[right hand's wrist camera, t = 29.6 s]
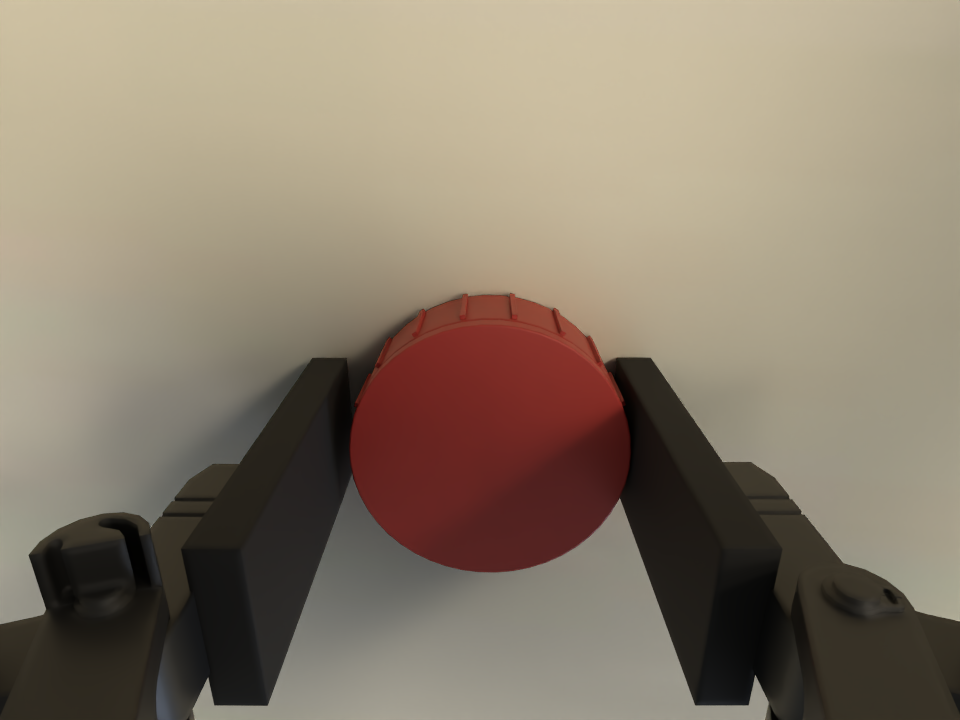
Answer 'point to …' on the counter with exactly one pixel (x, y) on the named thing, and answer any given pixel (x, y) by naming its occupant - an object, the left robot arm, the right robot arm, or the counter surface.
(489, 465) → the lid
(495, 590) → the counter surface
